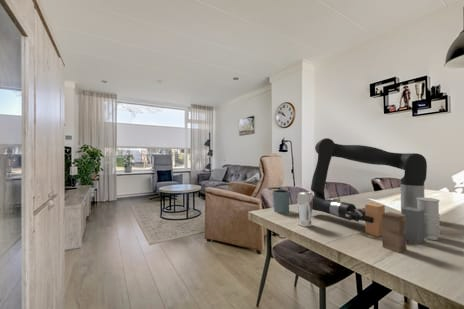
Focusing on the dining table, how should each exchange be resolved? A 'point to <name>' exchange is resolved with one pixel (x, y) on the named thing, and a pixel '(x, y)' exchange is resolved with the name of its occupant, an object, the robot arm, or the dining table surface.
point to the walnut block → (394, 231)
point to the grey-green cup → (281, 200)
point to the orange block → (376, 213)
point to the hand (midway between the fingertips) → (379, 218)
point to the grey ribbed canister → (430, 216)
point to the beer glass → (305, 208)
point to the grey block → (414, 224)
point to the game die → (335, 199)
